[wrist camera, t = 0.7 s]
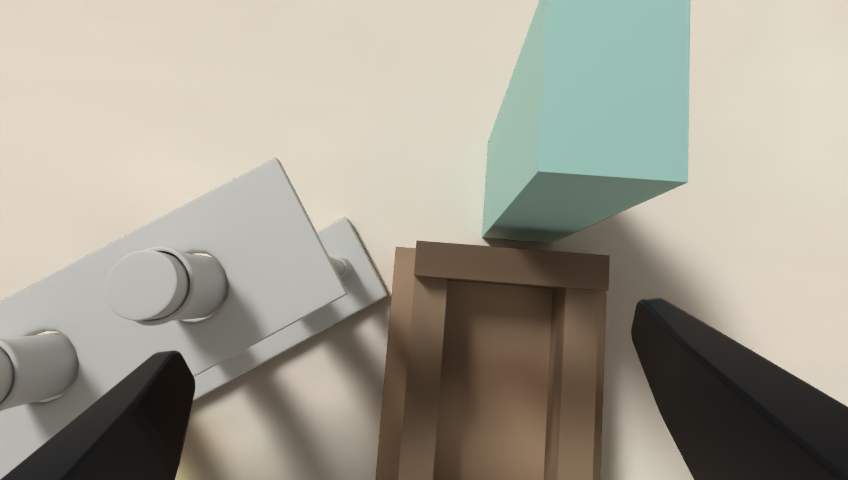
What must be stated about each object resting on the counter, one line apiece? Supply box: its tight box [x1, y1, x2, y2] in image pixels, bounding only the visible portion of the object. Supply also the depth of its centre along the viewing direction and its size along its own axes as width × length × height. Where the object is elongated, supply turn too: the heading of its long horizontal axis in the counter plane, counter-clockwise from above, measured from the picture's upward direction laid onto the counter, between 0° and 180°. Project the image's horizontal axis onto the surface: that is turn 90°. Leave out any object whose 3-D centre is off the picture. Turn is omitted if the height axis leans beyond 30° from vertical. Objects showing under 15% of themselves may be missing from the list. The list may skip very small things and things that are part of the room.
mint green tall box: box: [482, 0, 690, 243], centre depth 18 cm, size 6×4×12 cm, turn 175°
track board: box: [376, 241, 609, 480], centre depth 20 cm, size 12×10×4 cm
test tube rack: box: [0, 158, 388, 479], centre depth 16 cm, size 25×4×13 cm, turn 118°
